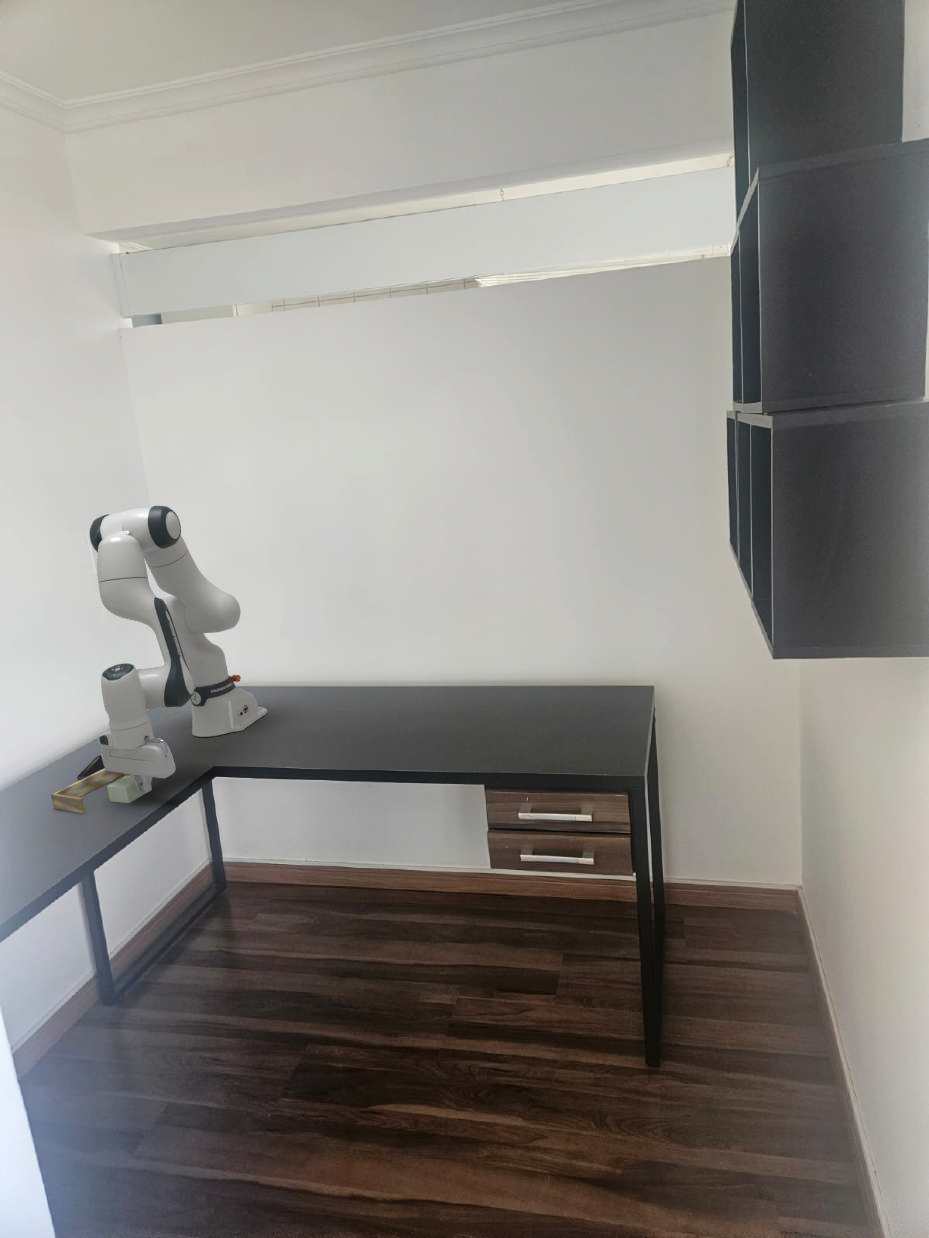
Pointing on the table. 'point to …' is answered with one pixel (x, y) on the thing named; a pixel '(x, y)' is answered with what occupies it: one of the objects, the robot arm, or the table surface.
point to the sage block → (124, 790)
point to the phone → (92, 768)
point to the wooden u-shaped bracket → (82, 791)
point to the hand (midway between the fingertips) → (144, 790)
